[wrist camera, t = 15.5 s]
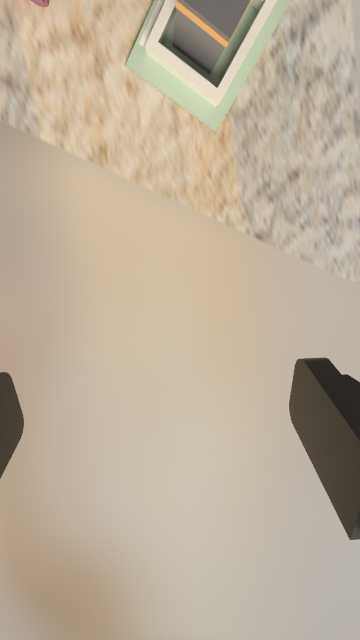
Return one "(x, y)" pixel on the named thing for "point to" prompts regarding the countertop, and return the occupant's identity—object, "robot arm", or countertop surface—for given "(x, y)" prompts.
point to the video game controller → (41, 2)
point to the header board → (189, 78)
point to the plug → (206, 28)
